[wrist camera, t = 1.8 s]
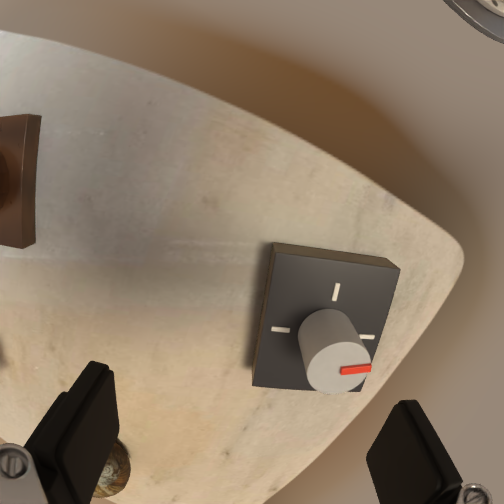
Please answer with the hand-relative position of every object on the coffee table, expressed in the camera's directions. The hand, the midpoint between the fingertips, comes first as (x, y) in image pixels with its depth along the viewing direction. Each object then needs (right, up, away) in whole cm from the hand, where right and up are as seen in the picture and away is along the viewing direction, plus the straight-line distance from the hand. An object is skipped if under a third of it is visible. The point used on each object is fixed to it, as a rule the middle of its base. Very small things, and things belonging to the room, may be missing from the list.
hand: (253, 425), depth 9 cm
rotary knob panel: (+6, 0, +18) cm, 19 cm away
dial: (+6, -1, +16) cm, 17 cm away
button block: (-25, +13, +15) cm, 32 cm away
